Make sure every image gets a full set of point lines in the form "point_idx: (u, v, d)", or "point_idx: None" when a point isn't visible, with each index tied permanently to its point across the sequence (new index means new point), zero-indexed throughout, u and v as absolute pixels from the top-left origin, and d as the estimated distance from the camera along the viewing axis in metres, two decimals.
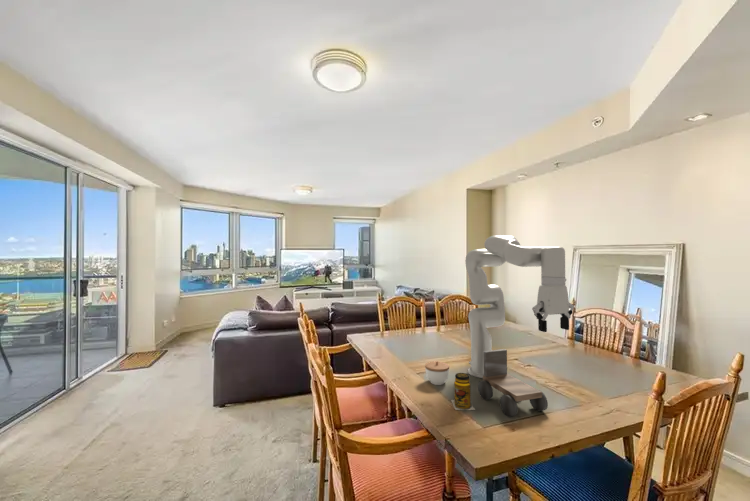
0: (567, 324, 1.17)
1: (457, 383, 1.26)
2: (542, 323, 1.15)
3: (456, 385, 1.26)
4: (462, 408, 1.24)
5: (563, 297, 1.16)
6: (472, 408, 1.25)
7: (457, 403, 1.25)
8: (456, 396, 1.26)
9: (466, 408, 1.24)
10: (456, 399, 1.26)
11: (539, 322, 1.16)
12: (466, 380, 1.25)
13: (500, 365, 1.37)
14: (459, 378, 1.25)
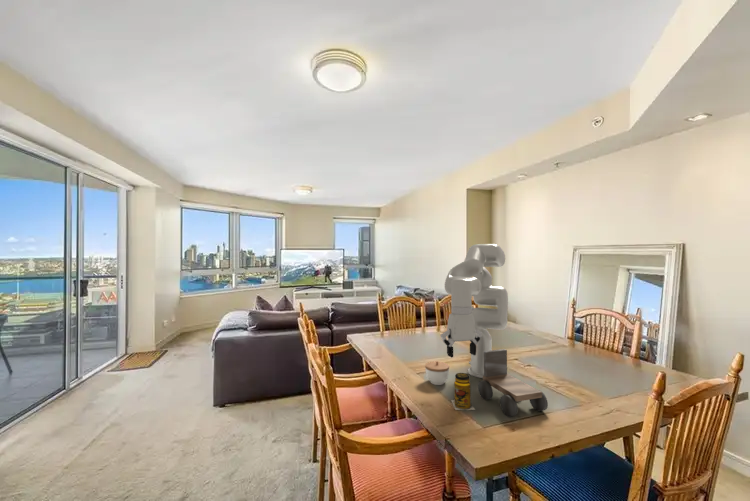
0: (474, 350, 1.28)
1: (457, 383, 1.26)
2: (449, 349, 1.25)
3: (456, 385, 1.26)
4: (462, 408, 1.24)
5: (469, 325, 1.26)
6: (472, 408, 1.25)
7: (457, 403, 1.25)
8: (456, 396, 1.26)
9: (466, 408, 1.24)
10: (456, 399, 1.26)
11: (447, 348, 1.26)
12: (466, 380, 1.25)
13: (500, 365, 1.37)
14: (459, 378, 1.25)
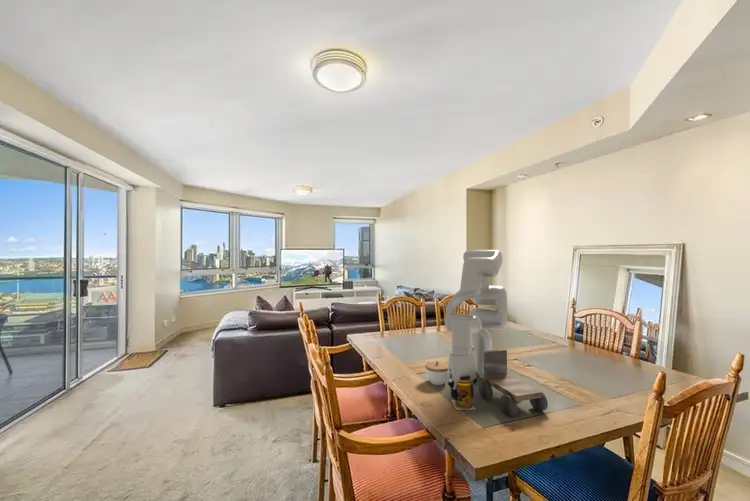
0: (471, 392, 1.27)
1: (458, 383, 1.26)
2: (453, 391, 1.26)
3: (457, 385, 1.26)
4: (463, 408, 1.24)
5: (469, 366, 1.26)
6: (473, 408, 1.25)
7: (458, 403, 1.25)
8: (457, 396, 1.26)
9: (467, 408, 1.24)
10: (457, 399, 1.26)
11: (451, 390, 1.27)
12: (467, 380, 1.25)
13: (500, 365, 1.37)
14: (460, 378, 1.25)
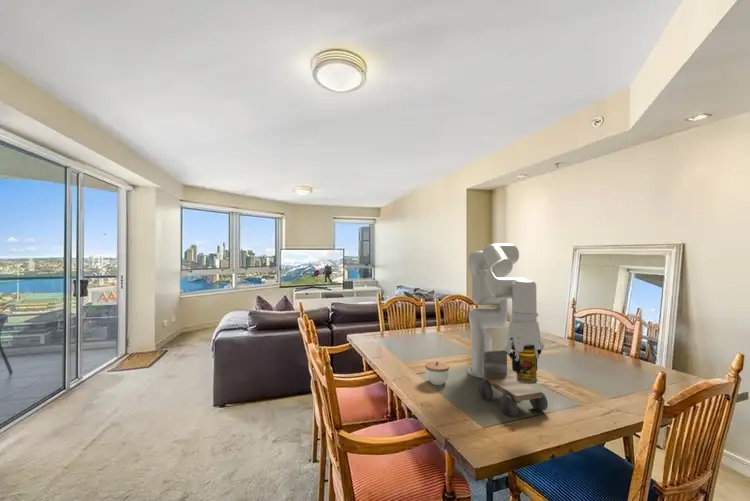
0: None
1: (521, 353, 1.09)
2: (515, 363, 1.10)
3: (520, 356, 1.10)
4: (527, 382, 1.08)
5: (534, 334, 1.10)
6: (539, 382, 1.09)
7: (521, 376, 1.09)
8: (520, 368, 1.10)
9: (532, 382, 1.08)
10: (520, 372, 1.10)
11: (512, 362, 1.11)
12: (532, 350, 1.09)
13: (500, 365, 1.37)
14: (524, 347, 1.09)
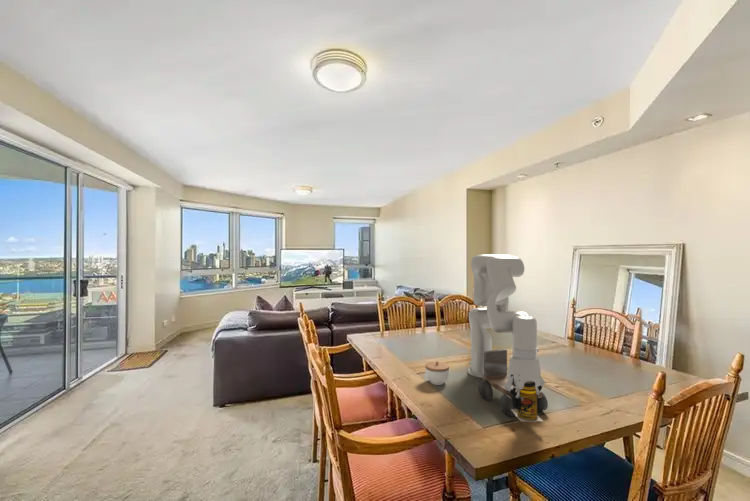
0: None
1: (522, 390, 1.09)
2: (516, 400, 1.10)
3: (520, 393, 1.09)
4: (528, 419, 1.08)
5: (535, 370, 1.10)
6: (539, 419, 1.09)
7: (522, 413, 1.09)
8: None
9: (533, 419, 1.08)
10: None
11: (513, 398, 1.11)
12: (532, 387, 1.08)
13: (500, 365, 1.37)
14: (525, 384, 1.09)
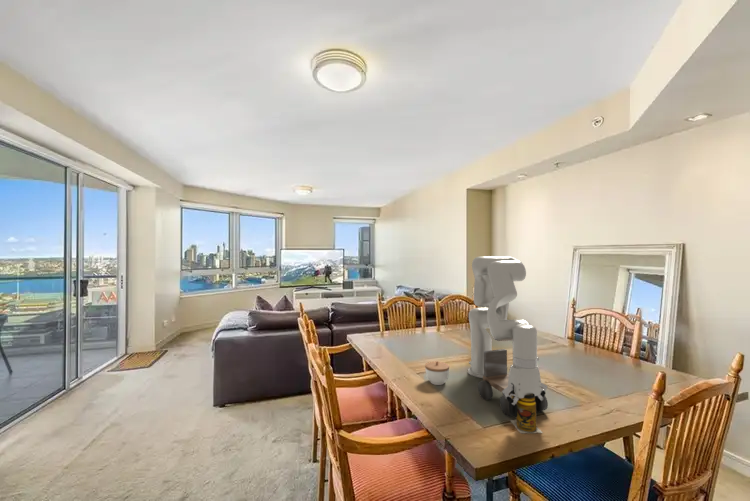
0: (539, 407, 1.12)
1: (521, 402, 1.09)
2: (512, 407, 1.09)
3: (520, 404, 1.10)
4: (527, 431, 1.08)
5: (535, 379, 1.10)
6: (539, 431, 1.09)
7: (521, 425, 1.09)
8: (520, 417, 1.10)
9: (532, 431, 1.08)
10: (520, 420, 1.10)
11: (509, 405, 1.10)
12: (532, 399, 1.09)
13: (500, 365, 1.37)
14: (524, 396, 1.09)
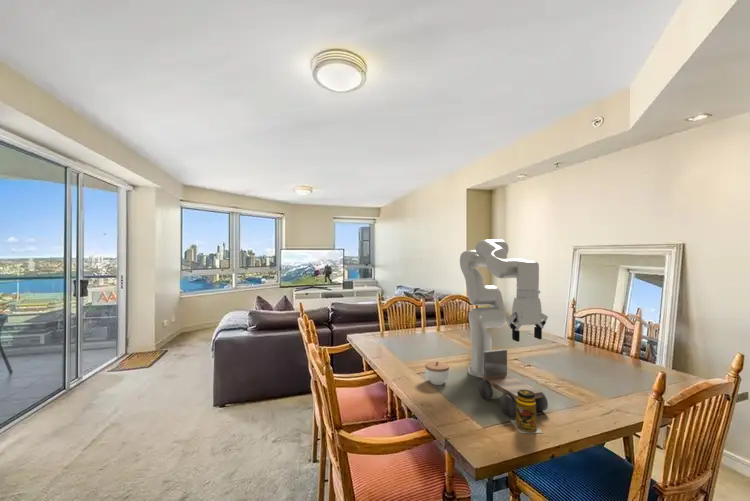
0: (540, 334, 1.24)
1: (521, 402, 1.09)
2: (515, 333, 1.22)
3: (520, 404, 1.10)
4: (527, 431, 1.08)
5: (536, 309, 1.22)
6: (539, 431, 1.09)
7: (521, 425, 1.09)
8: (520, 417, 1.10)
9: (532, 431, 1.08)
10: (520, 420, 1.10)
11: (512, 332, 1.23)
12: (532, 399, 1.09)
13: (500, 365, 1.37)
14: (524, 396, 1.09)
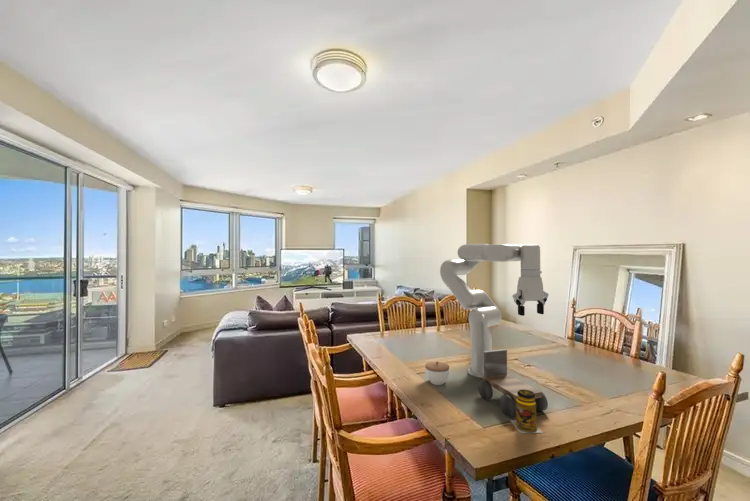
0: (542, 309, 1.40)
1: (521, 402, 1.09)
2: (521, 308, 1.37)
3: (520, 404, 1.10)
4: (527, 431, 1.08)
5: (538, 286, 1.38)
6: (539, 431, 1.09)
7: (521, 425, 1.09)
8: (520, 417, 1.10)
9: (532, 431, 1.08)
10: (520, 420, 1.10)
11: (518, 307, 1.38)
12: (532, 399, 1.09)
13: (500, 365, 1.37)
14: (524, 396, 1.09)
